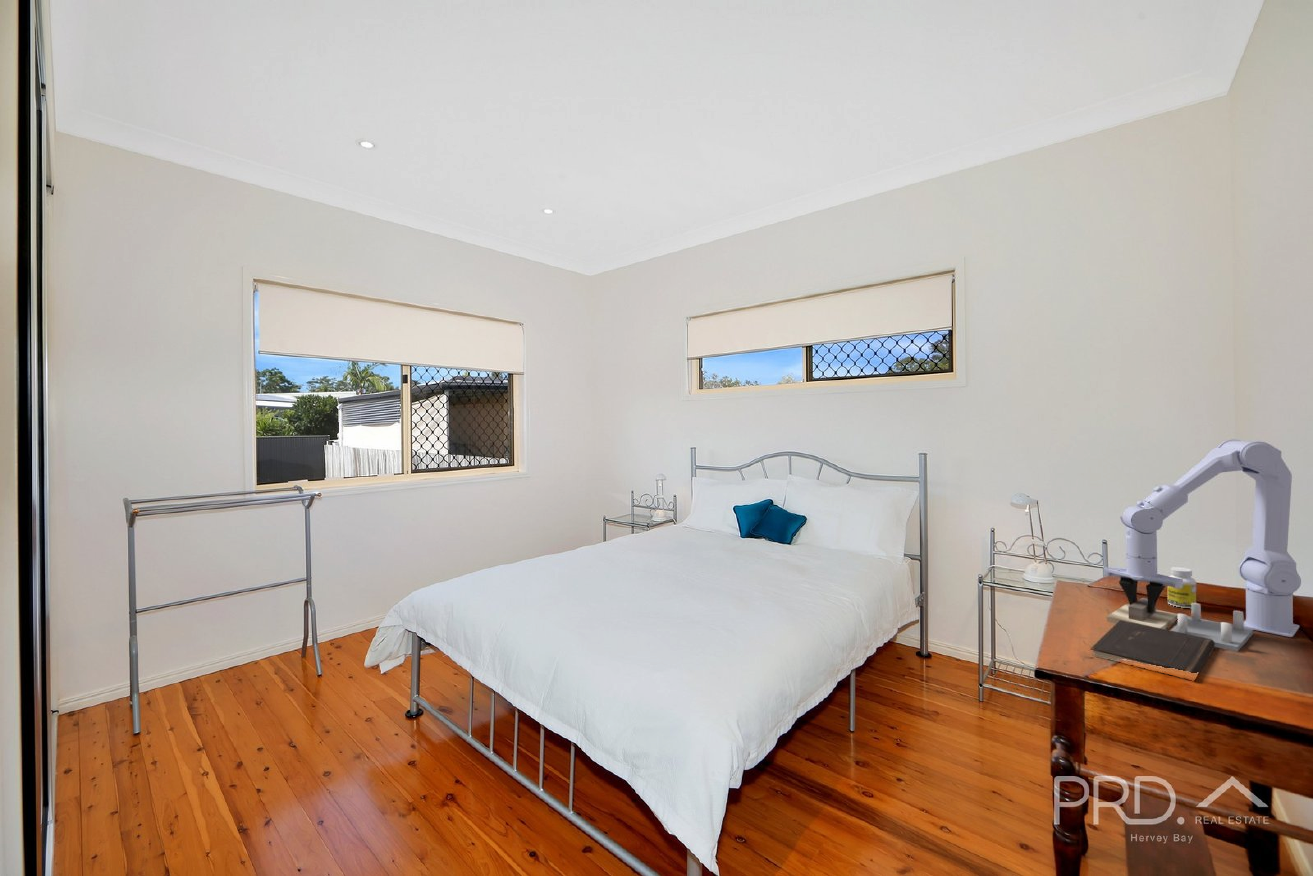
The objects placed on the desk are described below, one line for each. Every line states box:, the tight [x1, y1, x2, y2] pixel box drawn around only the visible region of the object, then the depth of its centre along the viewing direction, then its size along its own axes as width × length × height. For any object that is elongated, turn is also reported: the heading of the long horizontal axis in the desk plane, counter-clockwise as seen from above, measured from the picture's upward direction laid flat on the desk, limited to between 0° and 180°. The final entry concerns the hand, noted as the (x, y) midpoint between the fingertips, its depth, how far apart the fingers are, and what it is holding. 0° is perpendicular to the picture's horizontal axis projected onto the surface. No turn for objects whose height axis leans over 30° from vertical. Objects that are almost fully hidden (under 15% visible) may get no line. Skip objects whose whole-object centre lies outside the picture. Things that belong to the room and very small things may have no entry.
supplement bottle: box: [1166, 566, 1197, 610], centre depth 142 cm, size 5×5×10 cm
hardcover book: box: [1090, 620, 1215, 673], centre depth 117 cm, size 16×23×2 cm
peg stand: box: [1169, 602, 1254, 652], centre depth 124 cm, size 15×11×5 cm
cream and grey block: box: [1106, 597, 1179, 630], centre depth 134 cm, size 14×10×4 cm
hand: (1142, 610), depth 134 cm, fingers closed on cream and grey block, 3 cm apart
